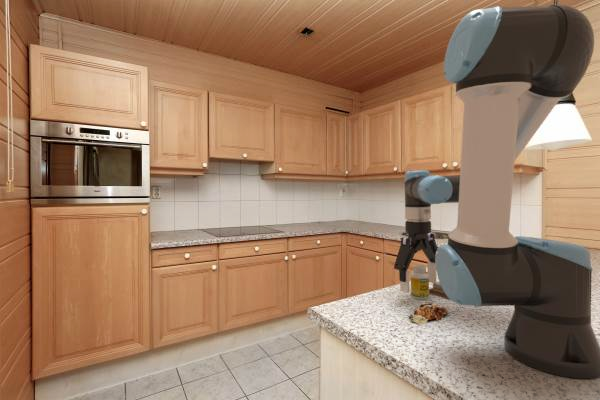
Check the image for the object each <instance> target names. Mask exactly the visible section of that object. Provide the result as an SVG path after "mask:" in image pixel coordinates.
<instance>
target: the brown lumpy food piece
mask: <svg viewBox="0 0 600 400" xmlns="http://www.w3.org/2000/svg"><path fill="white" fill-rule="evenodd" d="M445 314H446V316H447V315H449V314H448V311H447V309H446V308H445V307H444V306H438V304H437V303H434V302H432V301H429V302H425V303H421V304H419V307H418V308H416V309H414V310H413V314H411V313H410V314H409V315H408V321H409V322H410V323H416V324H417V325H421V324H422V325H426V324H427V322H428V320H430V321H431V320H434V319H435V320H436V321H438V322H440V321H442V320H443V319H444V315H445ZM442 318H443V319H442ZM441 319H442V320H441ZM439 320H440V321H439ZM438 322H437V323H438Z"/></svg>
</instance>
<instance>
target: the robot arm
mask: <svg viewBox="0 0 600 400" xmlns="http://www.w3.org/2000/svg"><path fill="white" fill-rule="evenodd" d="M456 25H457V26H456V27H455V29H454V31H453V33H452V35H451V36H450V40H449V42H448V45H447V48H446V52H445V55H444V61H443V74H444V77H445V80H446V81H447V82H449V83H451V84H455V96H456V97H457V98H458V99H460V100H461V101H462V103H463V114H462V133H461V149H460V150H461V153H460V168H459V169H460V171H459V175H440V174H439V175H431V172H430V171H429V170H426V169H425V170H424V169H423V170H420V169H419V170H410V171H409V170H407V171H406V172H405V173H404V181H403V186H404V219H405V220H406V221H405V222H404V223H405V224H404V225H405V226H404V227H405V230H404V231H405V233H406V234H407V235H408V236H407V237H405V236H404V237H401V239H400V246H399V249H398V252H397V255H396V259H395V262H394V266H393V269H395V270H397V271H398V272H399V275H398V276H399V285H400V286H399V287H400V288H399V289H400V292H403V293H406V294H410V271H409V270H408V269H409V267H410V265H411V262H412V261H413V259H414V256H415V254H417V253H418V252H420V251H422V252H423V253H424V255H425V257H426V258H427V259H428V261H427V264H426V273H427V274H428V276H429V283H432V284H433V283H436V282H437V277H438V282H439V281H440V284H441V286H442V288H443V290H444V292H445V294H446V295H447V296H448V298H449V299H450V300H451V302H453V304H456V305H459V306H467V307H468V306H471V307H475V308H480V307H493V306H495V307H497V306H498V307H500V306H501V307H502V306H505V307H506V306H511V307H512V306H514V307H513V309H514V310H513V312H512V316H511V319H510V321H509V324H508V326H507V327H506V331H505V333H504V339H503V340H504V341H503V342H504V346H503V347H504V349H505V351H506V352H507V353H508V354H509V355H511V357H513V358H514V359H516V360H518V361H519V362H520V363H523V364H524V365H527V366H529V367H532V368H533V369H536V370H539V371H541V372H544V373H548V374H552V375H555V376H560V377H566V378H573V379H584V380H585V379H596V378H599V377H600V344H599V342H598V339H597V337H596V335H595V332H594V329H593V328H592V274H593V273H592V272H593V267H592V263H591V254H590V253H591V252H590V251H589V250H588V249H587V248H586V247H585V246H583V245H580V244H577V243H571V242H565V241H560V240H555V239H554V240H553V239H547V238H541V237H539V238H538V237H531V236H523V235H522V236H521V235H520V236H514V235H513V234H512V233H511V232H510V221H511V220H510V219H511V211H512V210H511V208H512V199H513V197H512V195H513V185H514V175H515V173H514V172H515V162H516V160H517V159H518V158H519V156H520V155H521V153H522V152H523V151H524V149H525V148H526V147H527V145H528V144H529V142H530V141H531V140H532V138H533V137H534V136H535V134H536V133H537V131H538V130H539V128H540V127H541V125H543V124H544V121H545V120H546V119H547V118H548V116H549V115H550V113H551V112H552V111H553V109H554V108H555V107H556V106H557V103H558V102H559V101H560V100H562V99H564V98H567V97H569V96H571V95H572V94H573V92H574V91H575V89H576V88H577V87H578V85H579V84H580V83H581V81H582V79H583V78H584V76H585V74H586V73H587V71H588V68H589V66H590V63H591V61H592V57H593V54H594V50H595V49H594V48H595V35H594V29H593V26H592V24H591V22H590V20H589V18H588V17H587V16H586V14H585V13H583V12H582V11H580V10H579V9H577V8H575V7H573V6H571V5H566V4H551V5H539V6H538V5H537V6H536V5H532V6H530V5H529V6H507V7H506V6H505V7H504V6H503V7H501V6H498V5H497V6H493V7H489V8H477V9H473V10H472V11H470V12H468V13H467V14H466V15H464V16H463V18H462V19H461V20H460V22H459V23H457V24H456ZM443 203H444V204H447V203H448V204H450V203H452V204H454V203H455V204H456V203H458V205H457V206H458V208H457V223H456V225H457V226H456V227H455V228H454V229H452V230H451V231H450V232H449V233H448V234H447V244H442V245H440V246H439V247H438V246H437V243H436V239H435V233H432V221H431V219H432V211H431V210H432V209H431V208H432V207H431V206H432V205H439V204H443ZM449 299H448V300H449ZM450 300H449V301H450Z"/></svg>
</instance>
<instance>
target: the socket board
mask: <svg viewBox="0 0 600 400" xmlns="http://www.w3.org/2000/svg"><path fill="white" fill-rule="evenodd" d="M429 295H432V296H436V297H439V298H443V299H446V300H449V301H450V299H449V298H448V296H447V295H446V294H445V292H444V290H443V288H442V286H441V284H440V281H439V280H438V281H436V283H432V287H431V288H429Z"/></svg>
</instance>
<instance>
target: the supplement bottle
mask: <svg viewBox="0 0 600 400" xmlns="http://www.w3.org/2000/svg"><path fill="white" fill-rule="evenodd" d="M429 289H430V282H429V276H428V274H427V266H425V265H418V264H417V265H413V266H412V272H411V273H410V296H411V298H413V299H415V300H421V301H422V300H423V301H424V300H427V299H429V298H430V294H429Z"/></svg>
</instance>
